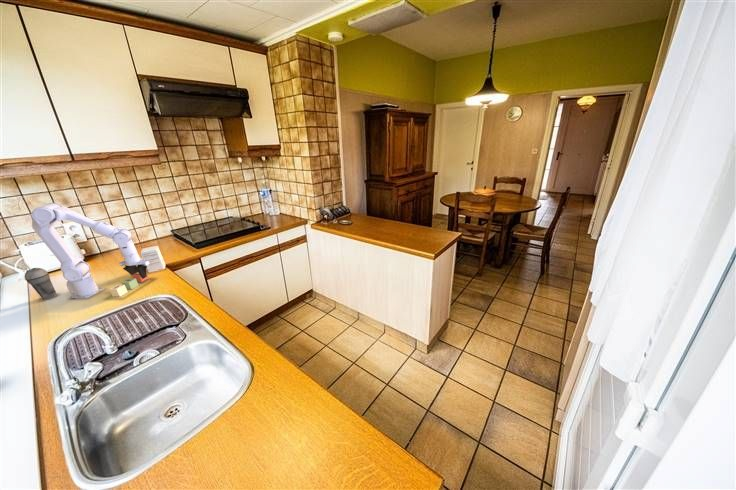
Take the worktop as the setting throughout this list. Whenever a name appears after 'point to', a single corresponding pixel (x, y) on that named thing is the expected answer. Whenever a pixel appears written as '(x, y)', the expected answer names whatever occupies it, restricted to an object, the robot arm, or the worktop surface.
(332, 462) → the worktop surface
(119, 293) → the pale yellow cube
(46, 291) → the beverage cup
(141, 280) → the coral red cube
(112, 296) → the word mat
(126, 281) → the pale green cube
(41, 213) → the robot arm
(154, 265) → the white packaging box
